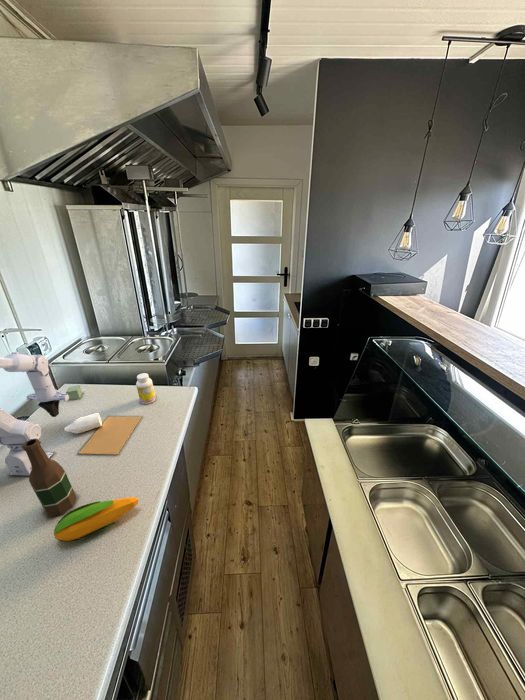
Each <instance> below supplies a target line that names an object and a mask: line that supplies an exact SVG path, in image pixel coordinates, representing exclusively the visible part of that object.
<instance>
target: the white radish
mask: <svg viewBox="0 0 525 700" xmlns="http://www.w3.org/2000/svg"><path fill="white" fill-rule="evenodd" d="M102 424H103V421H102V417H101V414H100V413H99V412H95V413H91V414H88V415H85V416H81V417H78V418H76V419H75V420H73V422H72V423H70V424H68V425H67V426H65V427H64V429H63V430H64V431H65V432H66V433H73V434H81V433H84V432H87V431H90V430H94V429H96V428H99V427H100V426H102Z"/></svg>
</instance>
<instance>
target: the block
mask: <svg viewBox="0 0 525 700" xmlns="http://www.w3.org/2000/svg"><path fill="white" fill-rule="evenodd" d="M65 394H68V396H69V399H68V401H74V400H78V399H79V400H80V399H81V398H82V394H83V390H82V388H81V385H80V384H78V385H73V386H72V385H71V386H68V387H67V389H66V391H65Z"/></svg>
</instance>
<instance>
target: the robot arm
mask: <svg viewBox="0 0 525 700" xmlns="http://www.w3.org/2000/svg"><path fill="white" fill-rule="evenodd" d="M0 369H3V370H4V371H5V372H8V373H25V374H26V376H27V378H28V380H29V382H30V385H31V388H32V389H33V391H34V393H29V394H28V395H26V396H25V397H26V400H27V401H28V402H31V401H36V402H39V403H38V404H37V406H38V407H40V408H42V409H43V410H44V411H45V412H47V413H48V414H49V415H50V416H51V418H56V417H57V416H58V415H59V414H60V410H59V408H60V401H63V402H67V401H69V396H68V394H66V393H64V392H60V391H58V389H56V388H55V386H54V383H53V381H52V378H51V376H50V374H49V373H50V368H49V358H46V356H44V355H43V354H31V353H29V352H28V353H27V352H25V353H24V354H22V353H21V354H20V352H17V351H13V352H11V353H9V354H6V355H4V356H3V357H2V356H1V357H0ZM41 436H42V428H41V426H40V424H38V423H32V422H31V421H27V420H23V419H17V418H16V417H14V416H13V415H11V414H9V412H7V411H5V410H4V409H2V408H1V407H0V445H2V446H6V447H7V449H9V452H8V454H7V455H6V457H5V458H4V462H5V464H6V466H7V467H8V469H9V471H10V473H9V475H10V476H29V475H30V472H31V470H32V467H31V463H30V460H29V458H28V455H27V453H26V451H25V450H24V449H23V445H24V443H25V442H27V441H29V440H31V439H36V438H37V439H38V440H39V441H40V438H41ZM40 445H41V446H42V448H43V450H44V451H45V449H44V447H43V445H42V443H41V444H40ZM45 453H46V455H47V456H48V458H49V459H51V457H52V455H54V452H51V451H49V452H48V451H45Z"/></svg>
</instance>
